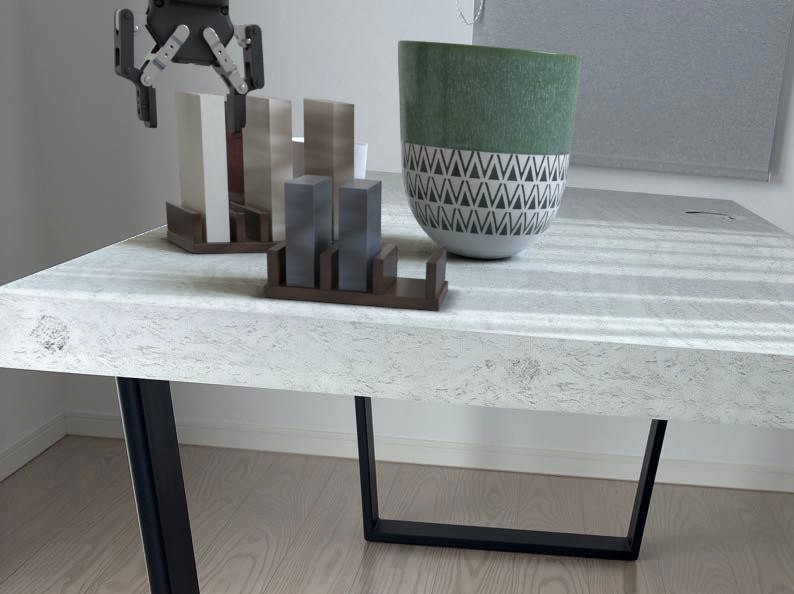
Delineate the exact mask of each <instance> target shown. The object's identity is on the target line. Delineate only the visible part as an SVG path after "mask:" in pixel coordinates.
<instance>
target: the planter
mask: <svg viewBox="0 0 794 594" xmlns="http://www.w3.org/2000/svg"><path fill="white" fill-rule="evenodd" d="M583 58H584V57H583V56H582V55H578V54H571V53H570V54H569V53H562V52H556V51H555V52H554V51H544V50H534V49H523V48H513V47H502V46H492V45H491V46H490V45H489V46H488V45H479V44H477V45H476V44H465V43H453V42H439V41H425V40H404V39H403V40H402V39H401V40H398V41H397V67H398V68H397V73H398V74H397V76H398V97H399V98H398V100H399V101H398V102H399V134H400V135H399V137H400V161H401V166H400V167H401V176H402V182H403V188H404V193H405V196H406V201H407V204H408V206H409V210H410V211H411V214H412V216H413V218H414V219H415V221H416V222H417V224H418V225H419V227H420V228H421V229H422V231H423V232H424V233H425V234H426V235H427V236H428V237H429V238H430V240H432V242H434V243H435V244H437V246H438V247H442V248H446V252H450V253H451V254H455V255H457V256H461V257H467V258H474V259H484V260H485V259H488V260H490V259H491V260H493V259H505V258H509V257H512V256H515V255H518V254H520V253H522V252H523V251H525V250H527V249H528V248H529V247H531V246H533V244H535V243H536V242H537V241H538V240H539V239H540V238H541V237H542V236H543V235H544V234H545V233H546V232H547V230H549V228H550V226H551V225H552V224H553V222H554V220H555V218H556V215H557V214H558V211H559V208H560V206H561V203H562V200H563V196H564V193H565V189H566V184H567V179H568V173H569V165H570V159H571V158H570V157H571V150H572V144H573V138H574V137H573V136H574V130H575V129H574V128H575V122H576V121H575V120H576V114H577V106H578V99H579V93H580V87H581V76H582V69H583V67H582V66H583V60H584V59H583Z"/></svg>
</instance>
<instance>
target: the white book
mask: <svg viewBox="0 0 794 594" xmlns="http://www.w3.org/2000/svg"><path fill="white" fill-rule="evenodd" d="M174 101H175V115H176V116H175V118H176V135H177V136H176V137H177V154H178V169H179V186H180V203H181V205H183V206H185V207H188V208H190V209H192V210H194V211H197V212H199V213H201V223H202V240H203V241H205V242H207V243H217V242H230V230H229V205H228V181H227V157H226V133H225V109H224V101H225V96H223V95H218V94H211V93H207V92H201V91H189V90H174Z"/></svg>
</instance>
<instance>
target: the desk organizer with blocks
mask: <svg viewBox="0 0 794 594" xmlns="http://www.w3.org/2000/svg"><path fill="white" fill-rule="evenodd" d="M382 183H383V181H382V180H380V179H379V180H376V179H366V178H365V179H354V180H352V181H350V182H348V183H346V184H344V185H342V186H340V187H339V240H338V241H337V242H336V243H334V244H333V245H332V177H329V176H316V175H303V176H301V177H298V178H296V179H293V180H290V181H288V182H285V183H284V192H285V240H283V241H281V242H280V243H278V244H276V245H275V246H273V247H271V248H270V249H268V250H267V252H266V271H267V272H266V274H267V275H266V276H267V277H266V279H267V283H266V284H265V285H264V286H263V294H264V295H263V296H264V298H270V299H283V300H293V301H294V300H295V301H307V302H309V301H310V302H319V303H321V302H322V303H333V304H347V305H359V306H371V307H372V306H373V307H385V308H397V309H398V308H399V309H413V310H423V311H436V312H438V311H439V310H440V309H441V307H442V304H443V302H444V300H445V298H446V296H447V295H448V292H449V280H446V272H447V271H446V270H447V250H446V248H442V247H440V246H437V247H436V248H435V249H434V251H433V252H432V254H431V255H430V257H429V258H428V259H427V260H426V263H425V278H418V277H417V278H415V277H403V276H402V277H401V276H398V260H399V259H398V258H399V257H398V254H399V253H398V252H399V251H398V250H399V244H398V243H391V242H390V243H389V242H388V243H387V244H386V245H385V246H384V247H383V248H382V191H383V190H382V187H383V185H382Z"/></svg>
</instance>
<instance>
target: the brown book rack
mask: <svg viewBox="0 0 794 594" xmlns="http://www.w3.org/2000/svg"><path fill="white" fill-rule="evenodd" d="M302 102H303V138H304V175H316V176H329V177H332V245H333V244H334V243H336V242H337V241H338V240H339V187H340V186H342V185H344V184H346V183H348V182H350V181H352V180H354V141H355V104H354V103H349V102H342V101H337V100H330V99H321V98H308V97H307V98H305V97H304V98H303V101H302ZM292 112H293V111H292V100H291V99H285V98H280V97H273V96H267V95H258V94H257V95H255V94H247V95H246V125H245V128H242V132H243V160H244V189H245V204H242V203H240V202H230V207H229V230H230V242H217V243H207V242H205V241H203V240H202V223H201V213H199V212H197V211H194V210H192V209H190V208H188V207H185V206H183V205H181V204H180V203H178V202H176V201H174V200H173V201H172V200H166V201H165V211H166V213H165V214H166V227H167V229H166V240H167V241H169V242H171V243H173V244H175V245H176V246H178V247H180V248H182V249H184V250H186V251H188V252H190V253H192V254H195V255H196V254H197V255H198V254H236V253H237V254H242V253H243V254H244V253H246V254H247V253H267V250H268V249H270V248H271V247H273V246H275V245H276V244H278V243H280V242H281V241H283V240H285V192H284V183H285V182H288V181H290V180H293V162H292V138H293V116H292V115H293V113H292Z"/></svg>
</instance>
